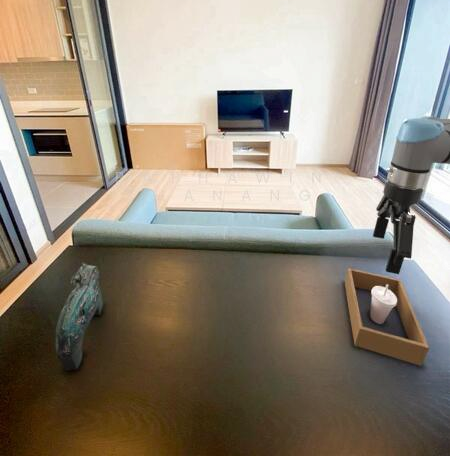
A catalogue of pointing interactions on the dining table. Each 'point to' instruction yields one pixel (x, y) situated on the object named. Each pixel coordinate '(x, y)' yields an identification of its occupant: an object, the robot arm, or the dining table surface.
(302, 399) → the dining table surface
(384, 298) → the smoothie
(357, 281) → the wooden box
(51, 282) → the dining table surface
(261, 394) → the dining table surface
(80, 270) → the dark teal curved piece
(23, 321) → the dining table surface
